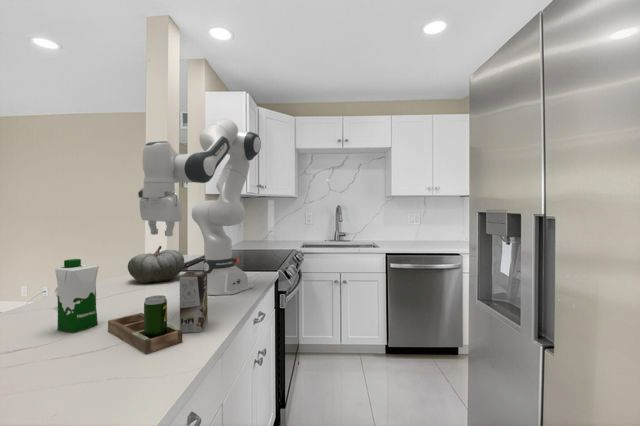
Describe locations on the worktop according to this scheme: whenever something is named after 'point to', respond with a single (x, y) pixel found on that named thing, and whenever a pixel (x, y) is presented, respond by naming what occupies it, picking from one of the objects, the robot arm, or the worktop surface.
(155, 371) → the worktop surface
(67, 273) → the milk carton
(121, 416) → the worktop surface
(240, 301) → the worktop surface
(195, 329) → the coffee box
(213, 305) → the worktop surface
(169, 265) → the gourd
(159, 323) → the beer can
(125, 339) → the wooden compartment rack
